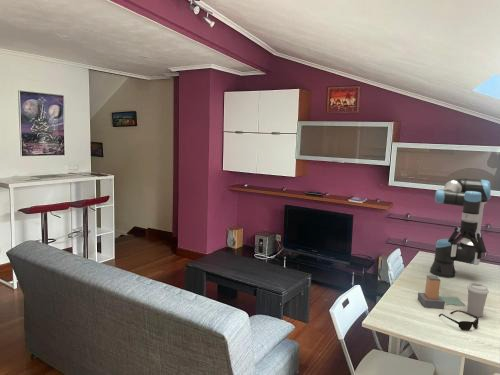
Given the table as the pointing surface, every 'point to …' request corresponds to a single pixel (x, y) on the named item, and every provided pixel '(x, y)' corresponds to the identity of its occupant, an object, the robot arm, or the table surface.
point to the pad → (452, 301)
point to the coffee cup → (476, 299)
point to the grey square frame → (431, 301)
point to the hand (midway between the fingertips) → (464, 260)
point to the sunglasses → (464, 324)
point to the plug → (432, 287)
